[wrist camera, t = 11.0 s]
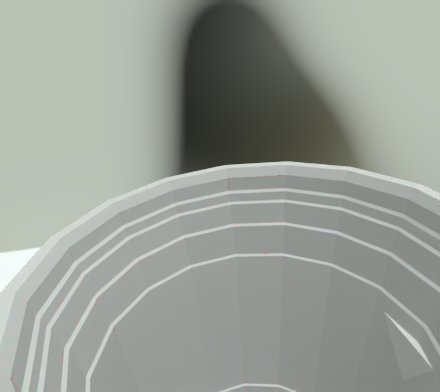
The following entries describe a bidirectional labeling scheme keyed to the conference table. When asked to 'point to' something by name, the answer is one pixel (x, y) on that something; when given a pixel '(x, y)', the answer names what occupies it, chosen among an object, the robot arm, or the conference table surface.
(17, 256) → the conference table surface
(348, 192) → the plastic cup
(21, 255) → the conference table surface
